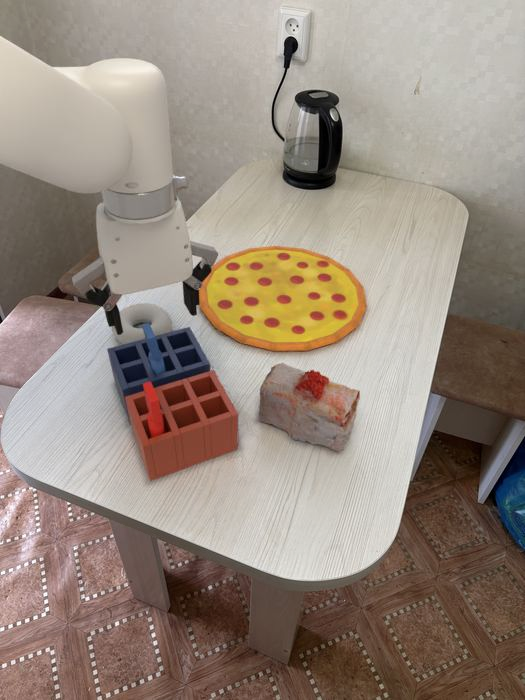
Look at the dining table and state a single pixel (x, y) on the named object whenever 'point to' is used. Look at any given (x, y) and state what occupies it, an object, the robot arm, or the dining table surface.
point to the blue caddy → (135, 366)
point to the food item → (308, 406)
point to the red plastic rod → (153, 411)
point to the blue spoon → (153, 350)
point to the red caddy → (185, 424)
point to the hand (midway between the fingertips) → (155, 318)
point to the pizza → (282, 298)
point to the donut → (142, 314)
